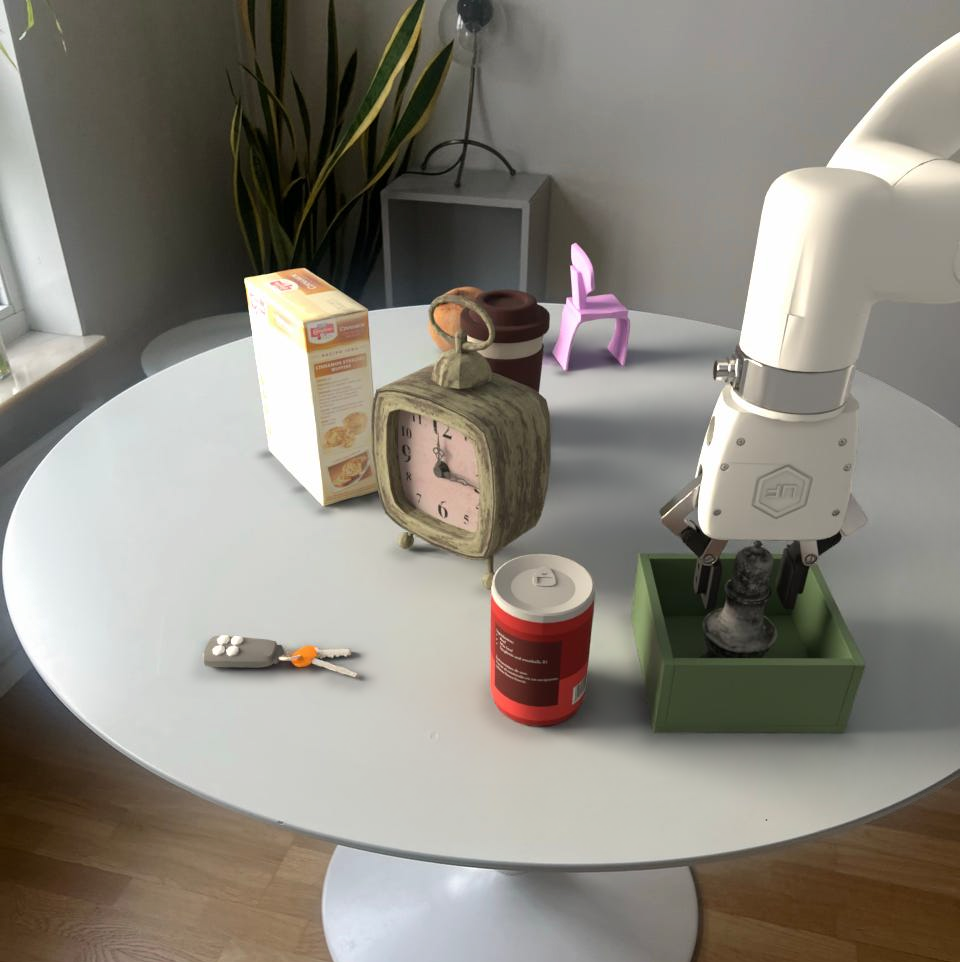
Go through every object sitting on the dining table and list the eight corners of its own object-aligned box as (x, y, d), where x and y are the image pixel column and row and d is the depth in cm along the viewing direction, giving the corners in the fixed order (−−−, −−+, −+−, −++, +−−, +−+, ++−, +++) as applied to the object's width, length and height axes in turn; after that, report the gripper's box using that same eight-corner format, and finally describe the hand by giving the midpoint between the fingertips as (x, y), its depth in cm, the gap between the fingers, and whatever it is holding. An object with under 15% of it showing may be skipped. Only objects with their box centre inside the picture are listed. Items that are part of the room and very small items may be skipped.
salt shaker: (681, 661, 79) (702, 537, 72) (724, 631, 82) (749, 510, 75) (740, 697, 76) (769, 571, 68) (783, 664, 79) (815, 541, 71)
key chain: (201, 672, 79) (198, 658, 79) (214, 643, 82) (211, 630, 81) (357, 679, 79) (355, 665, 78) (364, 650, 82) (363, 637, 81)
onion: (449, 383, 131) (423, 328, 123) (438, 340, 137) (411, 284, 128) (514, 357, 130) (492, 299, 122) (500, 314, 135) (478, 256, 127)
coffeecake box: (383, 490, 103) (370, 308, 91) (322, 508, 100) (300, 322, 88) (324, 435, 113) (306, 264, 100) (267, 450, 110) (241, 276, 98)
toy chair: (630, 368, 128) (642, 251, 119) (567, 373, 126) (574, 256, 117) (610, 344, 134) (620, 232, 125) (550, 349, 133) (555, 236, 123)
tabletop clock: (379, 549, 94) (359, 290, 78) (441, 512, 99) (434, 263, 84) (495, 606, 87) (498, 333, 71) (554, 562, 92) (570, 300, 76)
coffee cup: (502, 400, 120) (504, 277, 111) (562, 425, 115) (569, 299, 105) (444, 425, 115) (441, 298, 105) (503, 453, 109) (506, 322, 100)
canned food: (569, 657, 81) (577, 547, 74) (598, 721, 75) (610, 607, 68) (480, 669, 80) (480, 558, 73) (502, 736, 74) (505, 621, 67)
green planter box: (796, 617, 85) (812, 553, 81) (844, 733, 74) (866, 665, 70) (630, 617, 85) (638, 552, 81) (653, 732, 74) (664, 664, 70)
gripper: (671, 401, 61) (641, 628, 72) (943, 402, 61) (870, 629, 72) (654, 354, 67) (629, 571, 78) (902, 355, 67) (841, 571, 78)
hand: (745, 597), depth 75 cm, fingers open, 5 cm apart
